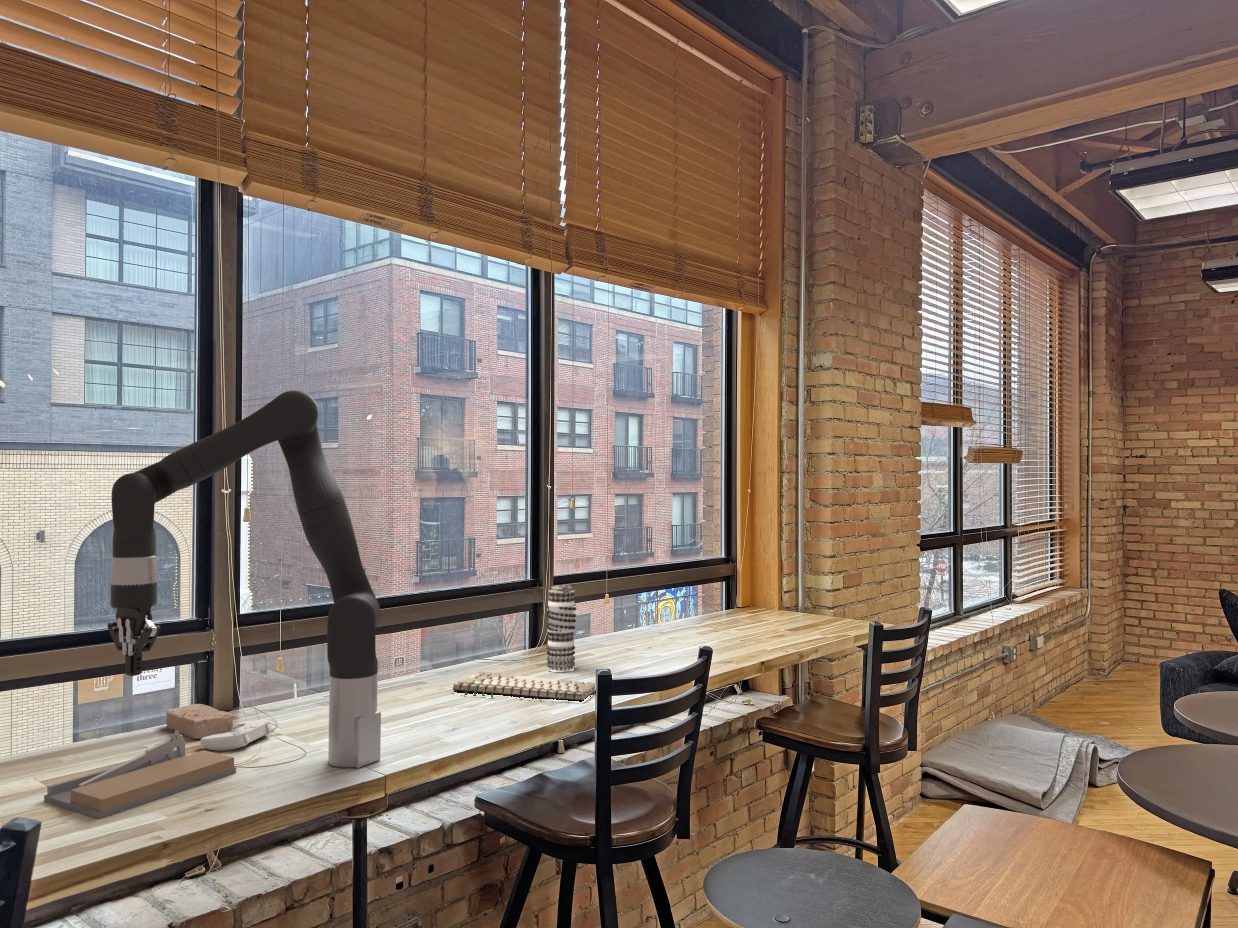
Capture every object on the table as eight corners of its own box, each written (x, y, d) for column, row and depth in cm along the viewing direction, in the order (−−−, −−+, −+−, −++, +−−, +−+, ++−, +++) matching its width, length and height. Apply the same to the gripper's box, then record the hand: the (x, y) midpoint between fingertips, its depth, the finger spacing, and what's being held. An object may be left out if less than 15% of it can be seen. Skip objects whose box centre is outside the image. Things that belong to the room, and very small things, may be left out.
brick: (163, 728, 194) (164, 707, 194) (201, 720, 200) (201, 700, 200) (196, 743, 183) (196, 721, 183) (234, 734, 189) (234, 713, 189)
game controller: (237, 718, 191) (277, 711, 189) (240, 737, 190) (281, 730, 189) (194, 736, 176) (237, 729, 175) (197, 758, 176) (240, 750, 174)
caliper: (181, 760, 167) (182, 728, 167) (185, 761, 166) (185, 728, 166) (70, 794, 149) (71, 757, 149) (74, 795, 148) (75, 758, 148)
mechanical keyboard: (603, 690, 234) (603, 677, 234) (583, 707, 215) (583, 694, 215) (474, 681, 243) (474, 669, 243) (445, 698, 224) (445, 685, 225)
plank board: (236, 772, 163) (236, 756, 163) (98, 818, 140) (99, 800, 141) (182, 759, 171) (183, 744, 171) (44, 801, 148) (44, 783, 148)
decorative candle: (579, 667, 259) (580, 584, 260) (571, 673, 250) (571, 588, 251) (550, 665, 262) (551, 583, 262) (541, 671, 253) (542, 587, 253)
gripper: (175, 580, 159) (175, 674, 158) (132, 577, 165) (131, 667, 164) (136, 584, 152) (135, 682, 152) (92, 581, 158) (91, 675, 158)
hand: (133, 674), depth 158 cm, fingers closed
